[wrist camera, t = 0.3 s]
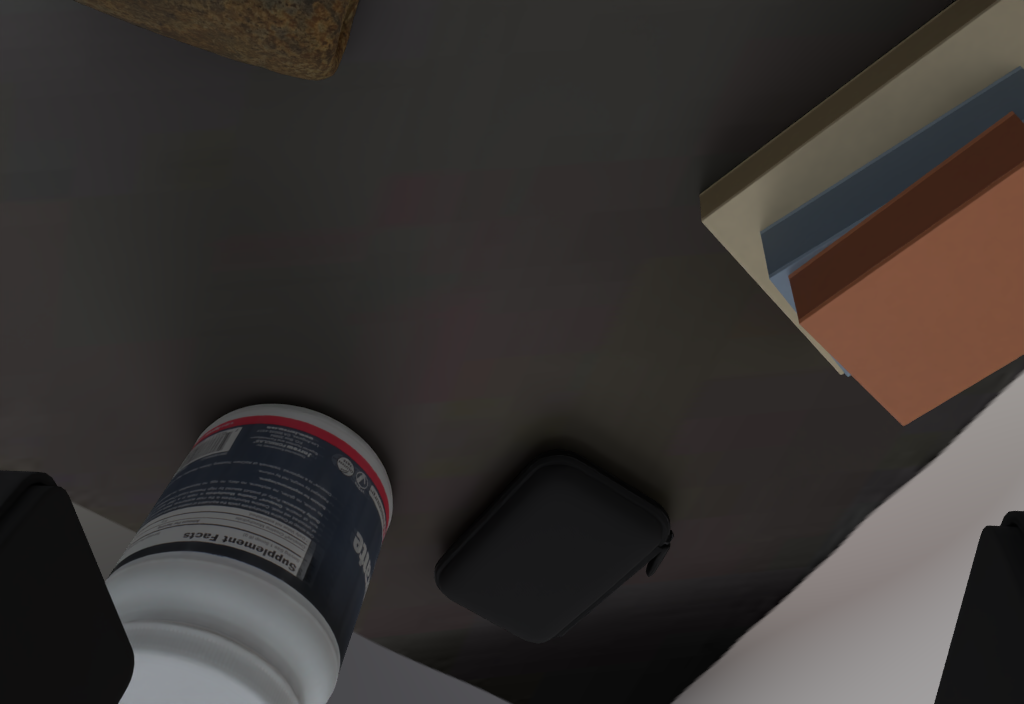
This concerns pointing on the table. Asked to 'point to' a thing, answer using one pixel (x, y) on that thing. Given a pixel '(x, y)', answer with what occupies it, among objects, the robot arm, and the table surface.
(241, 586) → the supplement tub
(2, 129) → the table surface
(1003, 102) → the grey blue book
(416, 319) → the table surface
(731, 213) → the cream hardcover
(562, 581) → the carrying case
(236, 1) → the brown vase
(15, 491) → the robot arm
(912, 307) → the terracotta book
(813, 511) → the table surface
